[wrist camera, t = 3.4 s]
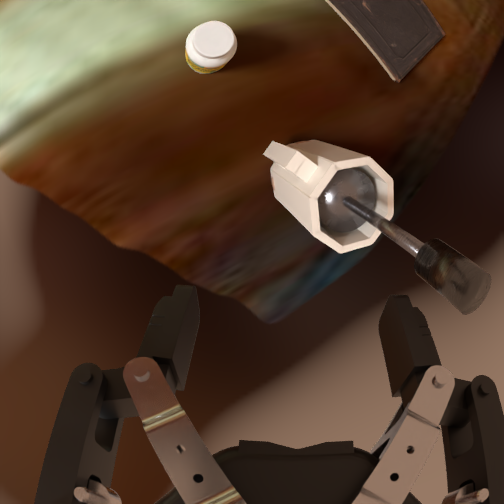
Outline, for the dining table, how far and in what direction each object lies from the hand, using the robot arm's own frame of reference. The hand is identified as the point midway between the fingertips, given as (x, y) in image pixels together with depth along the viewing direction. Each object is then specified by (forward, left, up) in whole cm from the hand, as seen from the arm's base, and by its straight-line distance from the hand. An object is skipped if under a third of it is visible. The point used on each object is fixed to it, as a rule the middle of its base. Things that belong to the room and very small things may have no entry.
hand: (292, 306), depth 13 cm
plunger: (-6, +11, -19) cm, 22 cm away
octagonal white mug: (-6, +10, -31) cm, 33 cm away
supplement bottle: (-12, -9, -31) cm, 34 cm away
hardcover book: (-36, +4, -32) cm, 48 cm away
